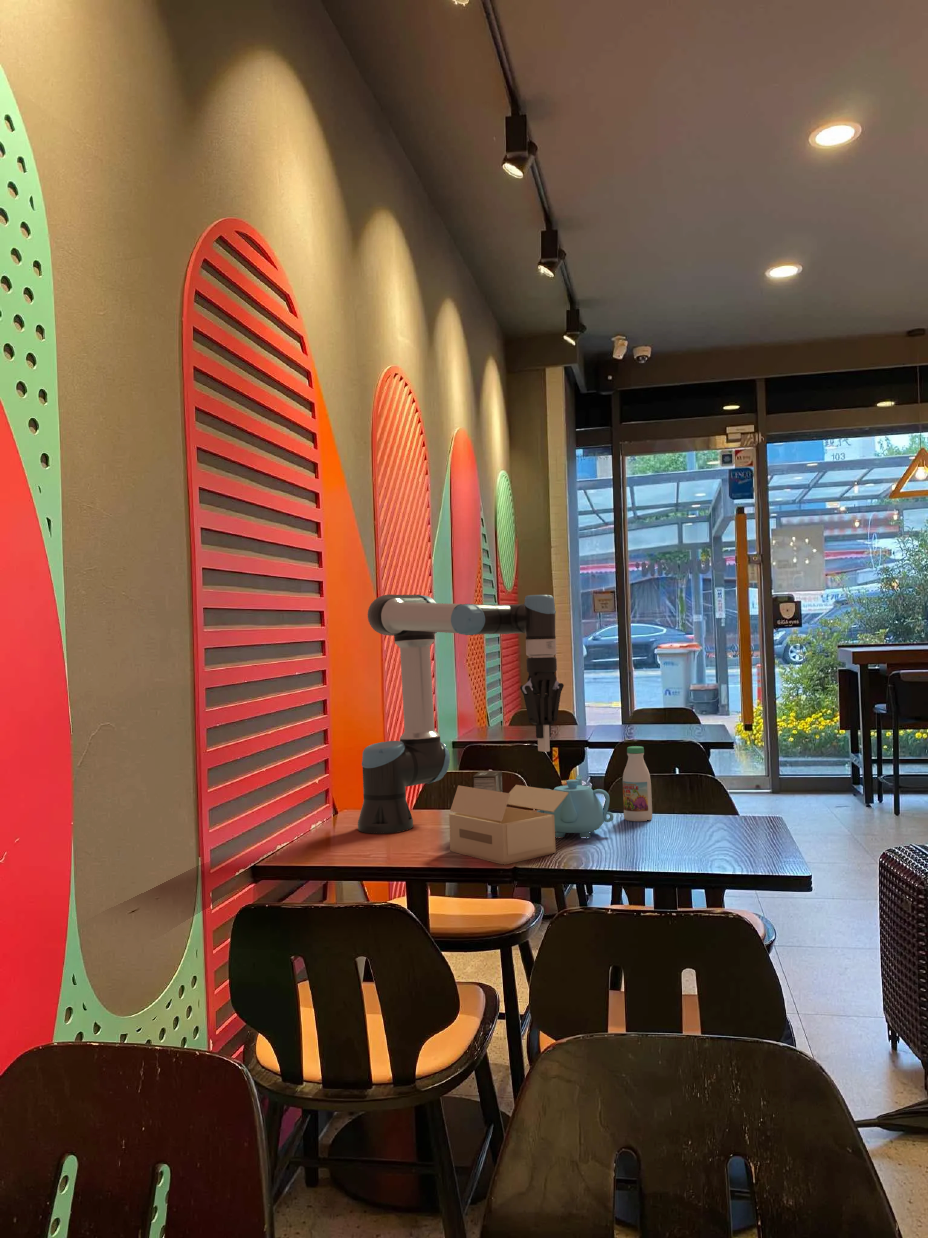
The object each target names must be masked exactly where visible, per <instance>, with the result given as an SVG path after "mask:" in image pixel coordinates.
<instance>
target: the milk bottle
mask: <svg viewBox="0 0 928 1238" xmlns="http://www.w3.org/2000/svg"><path fill="white" fill-rule="evenodd" d="M626 755H627V762H626V764H625V765H626V766H625V768H624V770H623V773H622V799H623V800H622V802H623V805H622V806H623V818H624V821H628V822H648V821H647V820H649V821H651V820H653V804H652V801H653V799H652V797H653V796H652V783H651V782H652V781H651V774H650V772H649V769H648V767H647V764H646V761H645V760H644V755H645V749H644V746H639V745H638V746H637V745H635V746H634V745H632V746H628V747H627V748H626Z"/></svg>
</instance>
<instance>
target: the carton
mask: <svg viewBox="0 0 928 1238" xmlns="http://www.w3.org/2000/svg"><path fill="white" fill-rule="evenodd" d="M448 821H449V846H450V847H449V848H450V849H449V850H450V851H449V852H451V853H455V854H456V853H457V854H460V855H464V856H468V857H472V858H475V859H479V860H484V861H488V862H491V863H496V864H500V865H503V864H504V866H505V865H509V864H514V863H517V862H518V863H519V862H521V861H526V860H527V861H528V860H531V859H535V858H540V857H544V856H549V855H553V853H554V854H556V853H557V852H556V849H557V848H556V838H555V833H556V831H555V822H554V815H553V814H547V813H541V812H537V811H534V810H529V809H523V808H517V807H511V806H508V805H507V806H506V809H505V813H504V816H503V819H502V821H497V820H492V819H487V818H482V817H476V816H471V815H466V814H461V813H456V812H451V813H449V815H448Z"/></svg>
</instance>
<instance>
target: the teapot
mask: <svg viewBox="0 0 928 1238" xmlns="http://www.w3.org/2000/svg"><path fill="white" fill-rule="evenodd" d="M565 782H566V785H560V786H559V785H558V786H556V787H554V789H553V790H556V791H563V792H568V793H569V794H568V795H567V796H566V797H565V799H564V800H563V801H562V802H561V804H560V805H559V806H558V807H557V809H556V810H555V811H554V812H549V811H543V810H536V812H541V813H547V814H553V815H554V822H555V837H564V838H565V835H566V833H568V834H573V833H574V834H579V838H580V837H586V838H587V837H591V838H592V835H591V833H589V832H594V833H595V831H597V830H599V829H600V828H601V827H602V826H603V824H604V822H605V823H610V822H612V821H613V820H614V814H613V813H612V812H611V811H609V807H610V794H609V793H608V791H606V790H604V789H600V788H597V789H594V790H593V789H592V787H590V786H588V785H583V775H582V774H578V775H577V776H576V777H575V779H568V780H566V781H565ZM548 789H549V790H552V789H550V788H548ZM597 794H602V795H603V796H604V798H605V802H604V806H602V803H601V801H600V799H599V797H598V796H597ZM608 815H609V817H607V816H608Z"/></svg>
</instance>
